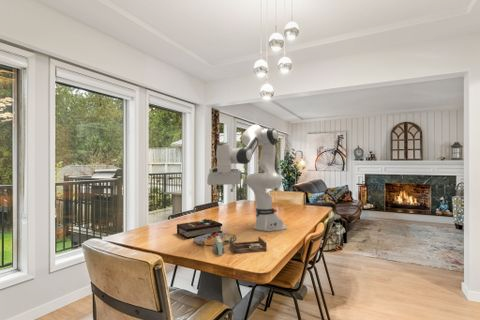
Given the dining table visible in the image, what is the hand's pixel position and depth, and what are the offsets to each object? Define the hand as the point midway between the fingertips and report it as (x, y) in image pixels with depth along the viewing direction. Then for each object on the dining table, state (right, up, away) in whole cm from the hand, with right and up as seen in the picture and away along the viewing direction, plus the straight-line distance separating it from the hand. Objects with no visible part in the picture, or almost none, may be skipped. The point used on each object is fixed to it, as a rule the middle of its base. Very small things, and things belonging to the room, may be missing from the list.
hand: (224, 192), depth 166 cm
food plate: (-5, -30, -3) cm, 30 cm away
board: (-1, -28, -25) cm, 38 cm away
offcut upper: (+18, -26, -22) cm, 38 cm away
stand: (-1, -29, -24) cm, 38 cm away
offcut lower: (+18, -27, -22) cm, 40 cm away
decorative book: (-17, -30, +16) cm, 38 cm away
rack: (+14, -29, -21) cm, 38 cm away
